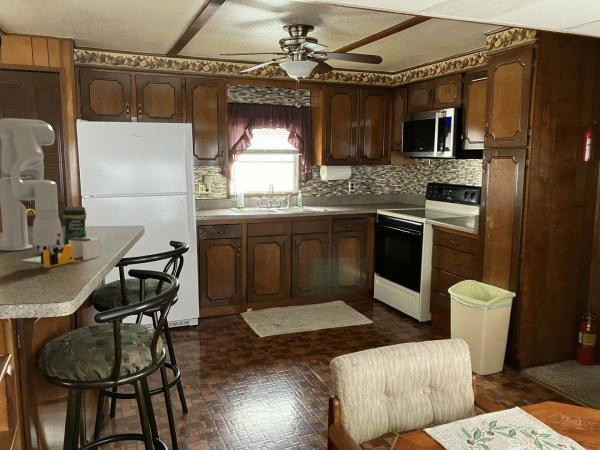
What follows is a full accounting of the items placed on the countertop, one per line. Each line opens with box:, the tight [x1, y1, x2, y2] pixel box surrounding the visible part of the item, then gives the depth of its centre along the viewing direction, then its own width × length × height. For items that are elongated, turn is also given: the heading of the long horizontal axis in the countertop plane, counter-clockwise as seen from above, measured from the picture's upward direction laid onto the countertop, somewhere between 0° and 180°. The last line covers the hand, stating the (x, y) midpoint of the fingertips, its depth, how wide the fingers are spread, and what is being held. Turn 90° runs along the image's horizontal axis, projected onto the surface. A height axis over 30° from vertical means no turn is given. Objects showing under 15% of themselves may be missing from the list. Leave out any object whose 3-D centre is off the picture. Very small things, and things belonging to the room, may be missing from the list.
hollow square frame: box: [69, 237, 101, 261], centre depth 202 cm, size 8×8×8 cm
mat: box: [21, 255, 41, 264], centre depth 198 cm, size 9×13×1 cm
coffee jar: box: [62, 206, 88, 245], centre depth 224 cm, size 10×8×19 cm
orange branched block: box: [43, 245, 75, 268], centre depth 189 cm, size 12×4×6 cm, turn 161°
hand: (49, 263), depth 186 cm, fingers closed on orange branched block, 3 cm apart
